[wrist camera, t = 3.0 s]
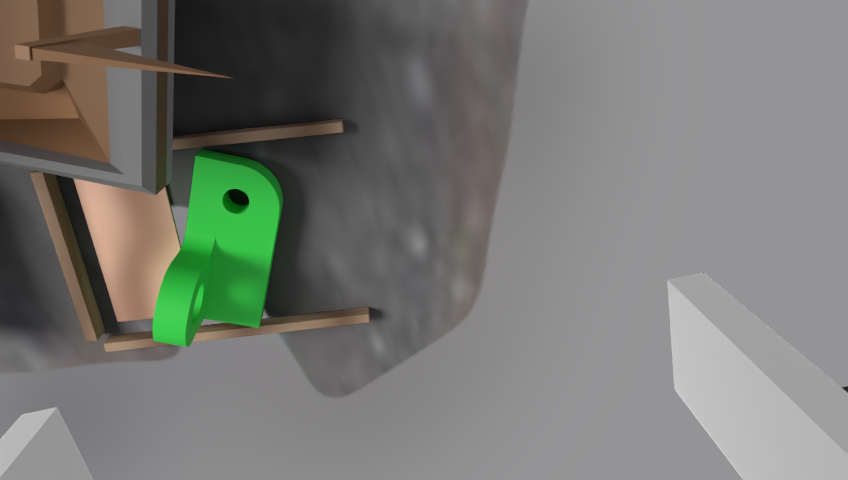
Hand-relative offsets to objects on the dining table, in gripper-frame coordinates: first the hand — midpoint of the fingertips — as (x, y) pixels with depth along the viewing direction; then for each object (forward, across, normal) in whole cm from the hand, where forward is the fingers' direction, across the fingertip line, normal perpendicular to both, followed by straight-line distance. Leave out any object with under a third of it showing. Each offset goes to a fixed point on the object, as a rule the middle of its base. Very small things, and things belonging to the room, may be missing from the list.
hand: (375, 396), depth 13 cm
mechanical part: (+32, -12, -6) cm, 35 cm away
